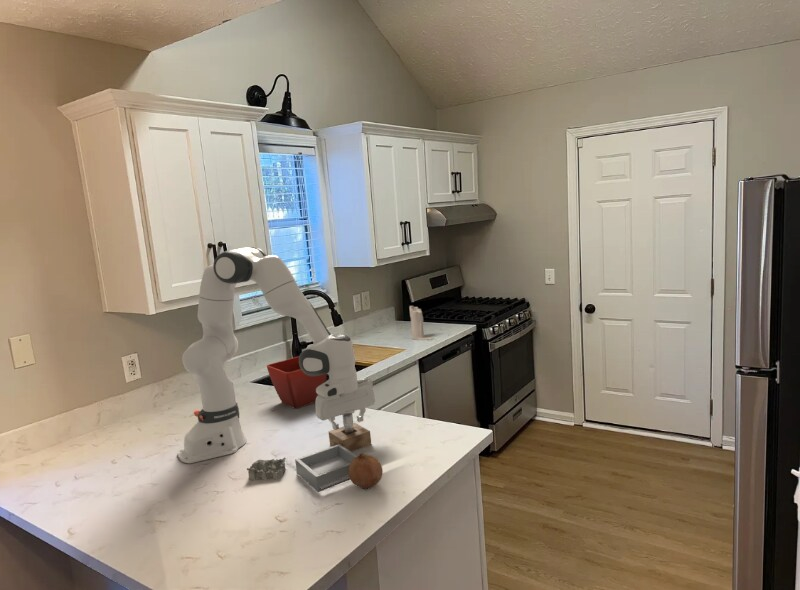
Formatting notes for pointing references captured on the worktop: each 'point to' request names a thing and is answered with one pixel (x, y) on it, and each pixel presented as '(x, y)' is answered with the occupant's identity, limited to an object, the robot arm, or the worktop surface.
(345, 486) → the worktop surface
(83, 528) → the worktop surface
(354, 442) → the socket block
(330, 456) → the grey tray
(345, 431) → the steel pin
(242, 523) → the worktop surface
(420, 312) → the candle
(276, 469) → the egg carton
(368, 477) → the onion
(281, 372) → the plant pot
